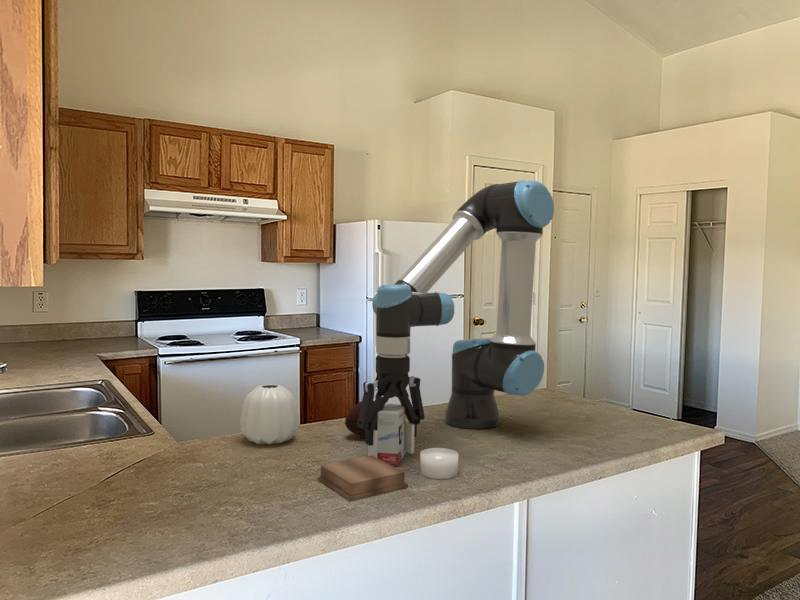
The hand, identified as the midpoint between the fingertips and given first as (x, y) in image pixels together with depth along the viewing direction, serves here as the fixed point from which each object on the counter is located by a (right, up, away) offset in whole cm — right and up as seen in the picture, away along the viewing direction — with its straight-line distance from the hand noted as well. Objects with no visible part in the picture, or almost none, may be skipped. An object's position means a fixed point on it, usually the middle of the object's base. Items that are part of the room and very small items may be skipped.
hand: (391, 455), depth 137 cm
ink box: (0, -1, 0) cm, 1 cm away
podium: (-6, -2, -15) cm, 16 cm away
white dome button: (+10, -2, -7) cm, 13 cm away
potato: (-6, 0, +18) cm, 19 cm away
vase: (-30, 0, +13) cm, 33 cm away
